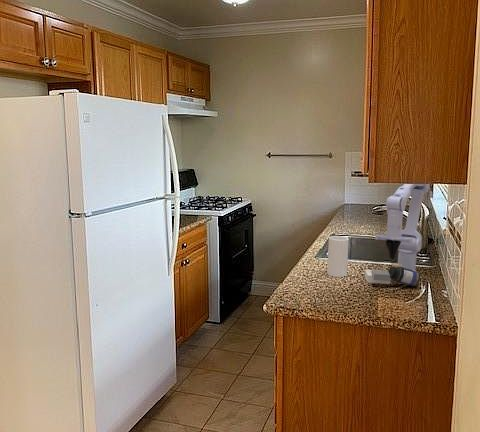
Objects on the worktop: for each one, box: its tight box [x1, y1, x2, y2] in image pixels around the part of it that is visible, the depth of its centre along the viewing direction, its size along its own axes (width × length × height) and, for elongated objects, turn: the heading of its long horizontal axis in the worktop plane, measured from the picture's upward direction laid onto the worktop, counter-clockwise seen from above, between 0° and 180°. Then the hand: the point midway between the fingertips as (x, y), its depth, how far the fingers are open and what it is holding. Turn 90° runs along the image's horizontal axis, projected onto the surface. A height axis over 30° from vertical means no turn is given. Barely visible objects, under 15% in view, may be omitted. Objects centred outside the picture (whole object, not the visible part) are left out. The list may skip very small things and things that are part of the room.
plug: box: [391, 263, 402, 281], centre depth 197 cm, size 4×4×6 cm
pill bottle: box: [387, 265, 421, 287], centre depth 187 cm, size 6×6×11 cm
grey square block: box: [371, 269, 391, 282], centre depth 186 cm, size 6×6×2 cm
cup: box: [326, 235, 350, 278], centre depth 201 cm, size 8×8×16 cm
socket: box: [364, 269, 392, 285], centre depth 195 cm, size 9×9×3 cm
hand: (392, 258), depth 194 cm, fingers closed
